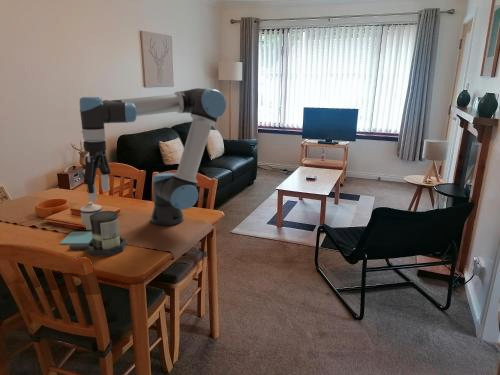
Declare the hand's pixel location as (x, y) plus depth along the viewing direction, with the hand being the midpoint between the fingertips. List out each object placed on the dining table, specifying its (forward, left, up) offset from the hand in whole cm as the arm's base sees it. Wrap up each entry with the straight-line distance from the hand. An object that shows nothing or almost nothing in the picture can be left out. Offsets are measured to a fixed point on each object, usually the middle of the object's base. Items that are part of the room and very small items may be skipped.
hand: (99, 195), depth 138 cm
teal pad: (+13, -9, -22) cm, 27 cm away
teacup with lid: (+12, -23, -22) cm, 34 cm away
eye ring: (+2, +1, -22) cm, 22 cm away
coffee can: (-1, +1, -22) cm, 22 cm away
